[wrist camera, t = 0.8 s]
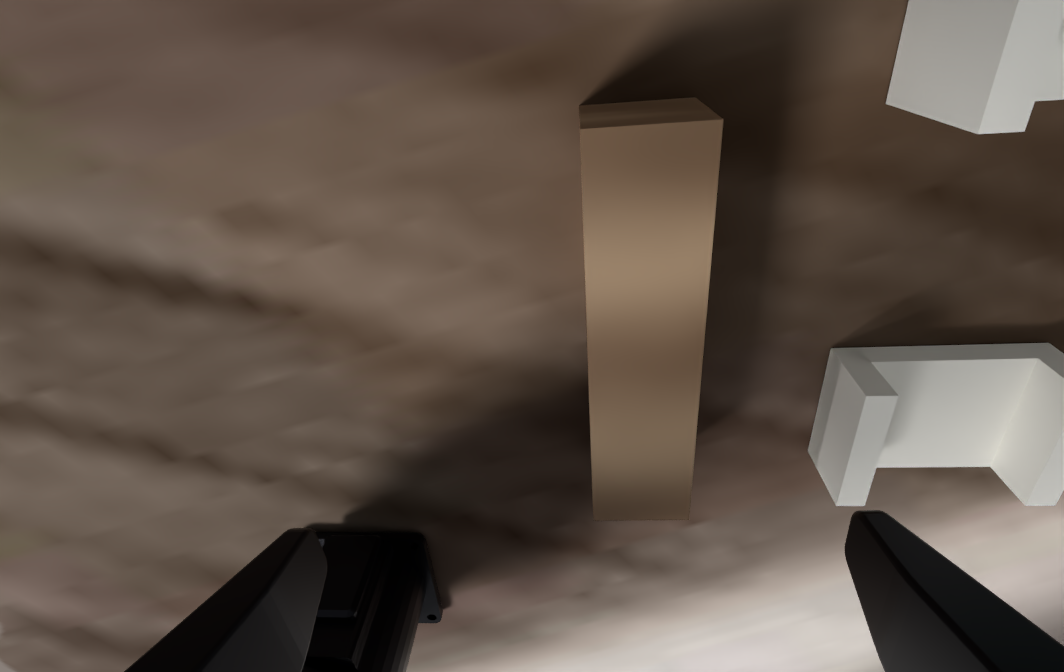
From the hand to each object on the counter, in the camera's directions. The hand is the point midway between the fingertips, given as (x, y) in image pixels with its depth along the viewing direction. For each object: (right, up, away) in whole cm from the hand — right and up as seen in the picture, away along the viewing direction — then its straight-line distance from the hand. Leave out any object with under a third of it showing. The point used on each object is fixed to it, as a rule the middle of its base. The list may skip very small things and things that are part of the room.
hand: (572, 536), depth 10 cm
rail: (+3, +5, +12) cm, 13 cm away
